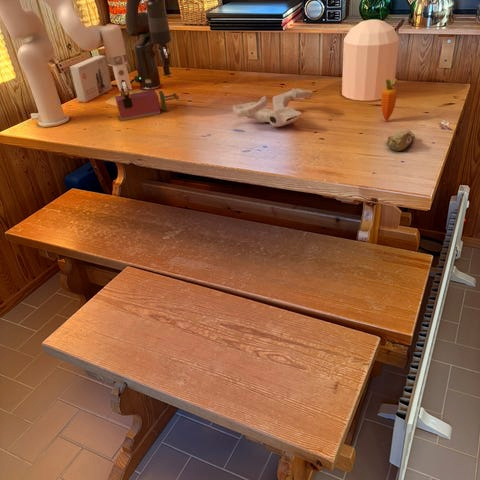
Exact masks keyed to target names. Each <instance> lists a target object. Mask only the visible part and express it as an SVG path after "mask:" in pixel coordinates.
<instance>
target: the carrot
mask: <svg viewBox="0 0 480 480" xmlns="http://www.w3.org/2000/svg"><path fill="white" fill-rule="evenodd" d="M397 81H398V78H395V80H394V82H393V84H391V82H390V79H386V83H387V85H386V87H387V88H386V89H384V90H383V91H382V98H381V99H380V101H381V102H380V104H381V112H382V113H381V114H382V117H383V119H384V120H385V121H386V122H388V121H389V119H390V118H391V117H392V114H393V112H394V109H395V106H396V101H397V96H398V95H397V94H398V91H397V89H395V85H396V83H397ZM389 85H390V86H389ZM391 85H392V86H391ZM393 86H394V88H393Z"/></svg>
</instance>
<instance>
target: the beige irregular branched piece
mask: <svg viewBox="0 0 480 480" xmlns="http://www.w3.org/2000/svg"><path fill="white" fill-rule="evenodd" d="M313 93H314V92H313V91H312V90H307V89H302V88H292V89H291V90H289V91H286V92H283V93H281V94H277V95H275V96H272V102H271V103H272V107H273V109H272V110H271V109H266V108H265V107H267V106H268V98H267V96H266V95H264V96H262V97H261V98H260V99H259V100H258V101H257V102H256V101H251V102H246V103H240V104H234V105H232V106H231V107H232V108H231V109H232V112H233V113H234V115H235V116H237V118H244V117H246V118H248V119H252V120H257V122H259V123H269V124H270V126H272V127H274V128H280V127H284V126H287V125H290V124H294V123H296V121H298V120H301V119H302V112H301V111H300V110H297V109H295V108H294V107H291V106H288V105H289V103H290V102H292V101H299V100H308V101H310V100H311V99H312V97H313Z"/></svg>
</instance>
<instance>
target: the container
mask: <svg viewBox="0 0 480 480" xmlns="http://www.w3.org/2000/svg"><path fill="white" fill-rule="evenodd" d="M399 44H400V37H399V36H398V33H397V32H396V30H395V28H394V27H393V26H392V25H391V24H389V23H388V22H387V21H383V20H381V19H376V18H375V19H374V18H373V19H367V20H362V21H360V22H359V23H358V24H356V25H354V26H353V27H352V28H350V29H349V31H348V32H347V33H346V35H345V37H344V38H343V51H342V77H341V79H342V80H341V95H342V96H343V97H344V98H347V99H349V100H354V101H363V102H364V101H365V102H367V101H379V100H381V98H382V91H383V90H384V89H386V88H387V87H386V85H387V83H386V79H390V82H391V84H393V82H394V80H395V79H396V72H397V63H398V62H397V61H398V52H399ZM389 86H390V85H389ZM391 86H392V85H391ZM393 88H394V89H395V85H394V86H393Z"/></svg>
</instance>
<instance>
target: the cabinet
mask: <svg viewBox="0 0 480 480" xmlns="http://www.w3.org/2000/svg"><path fill="white" fill-rule="evenodd" d="M129 94H130V97H131V101H132V105H133V107H131V108H125V107H124V102H123V95H121V94H120V95H116V96H114V98H115V102H116V106H117V107H116V108H117V111H118V115H119V119H120V121H121V122H123V121H129V120H134V119H139V118H143V117H148V116H153V115H160V114H161V108H160V109H159V104H160V102H159V103H158V99H159V97H158V98H157V95H158V93H157V91H156V89H152V90H143V91H138V92H133V93H129Z"/></svg>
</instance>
